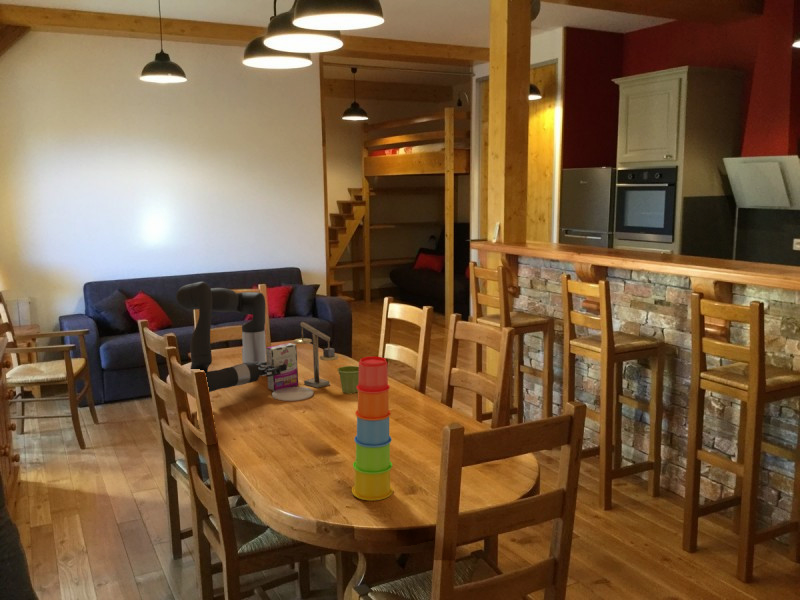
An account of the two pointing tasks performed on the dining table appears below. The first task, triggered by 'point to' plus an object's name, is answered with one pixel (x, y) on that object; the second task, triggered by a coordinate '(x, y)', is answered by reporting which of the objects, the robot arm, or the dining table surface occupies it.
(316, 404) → the dining table surface
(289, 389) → the dish
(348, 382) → the plant pot
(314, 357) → the balance
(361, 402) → the stacking cups
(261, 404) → the dining table surface
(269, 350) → the candy bar box
